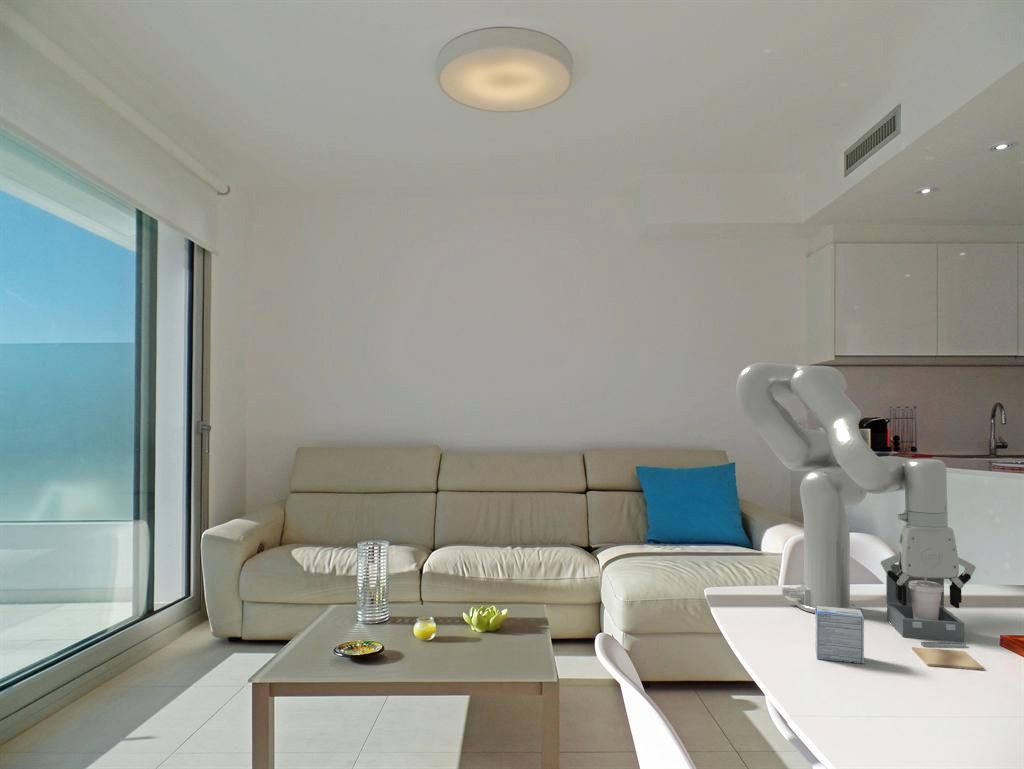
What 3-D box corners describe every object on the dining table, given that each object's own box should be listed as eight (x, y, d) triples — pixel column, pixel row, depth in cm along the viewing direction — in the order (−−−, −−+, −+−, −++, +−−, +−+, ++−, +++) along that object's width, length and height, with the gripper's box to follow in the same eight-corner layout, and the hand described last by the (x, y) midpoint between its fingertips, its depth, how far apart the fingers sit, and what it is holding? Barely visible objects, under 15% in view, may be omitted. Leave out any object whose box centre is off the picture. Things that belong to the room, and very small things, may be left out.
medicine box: (861, 657, 138) (861, 609, 138) (864, 665, 134) (864, 615, 134) (814, 651, 140) (815, 605, 141) (816, 659, 136) (816, 611, 136)
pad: (927, 665, 133) (927, 663, 133) (911, 649, 142) (911, 647, 142) (983, 670, 131) (983, 667, 131) (964, 653, 140) (964, 651, 140)
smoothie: (942, 629, 155) (942, 561, 155) (945, 638, 149) (945, 567, 149) (906, 625, 157) (906, 557, 158) (908, 634, 152) (908, 564, 152)
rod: (923, 648, 144) (923, 643, 144) (921, 647, 145) (921, 641, 145) (966, 649, 144) (966, 644, 144) (963, 647, 145) (963, 642, 145)
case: (903, 637, 149) (903, 577, 149) (886, 619, 162) (886, 563, 162) (965, 641, 147) (965, 580, 147) (942, 623, 159) (942, 566, 159)
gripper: (885, 521, 152) (887, 607, 151) (980, 523, 148) (983, 612, 147) (875, 516, 159) (877, 598, 158) (966, 518, 155) (968, 602, 155)
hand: (928, 605), depth 153 cm, fingers open, 9 cm apart
